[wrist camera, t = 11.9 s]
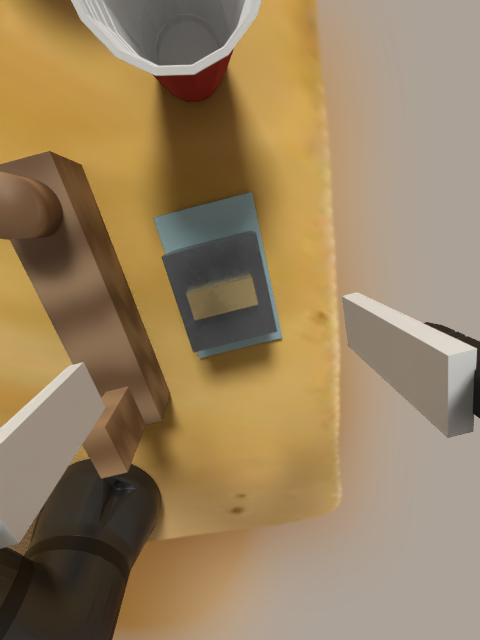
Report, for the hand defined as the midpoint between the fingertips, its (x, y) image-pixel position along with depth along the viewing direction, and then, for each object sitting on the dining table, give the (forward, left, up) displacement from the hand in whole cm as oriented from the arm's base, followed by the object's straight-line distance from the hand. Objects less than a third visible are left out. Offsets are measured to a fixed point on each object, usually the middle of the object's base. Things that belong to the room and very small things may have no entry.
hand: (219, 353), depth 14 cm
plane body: (+1, +13, -17) cm, 22 cm away
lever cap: (0, 0, -17) cm, 17 cm away
